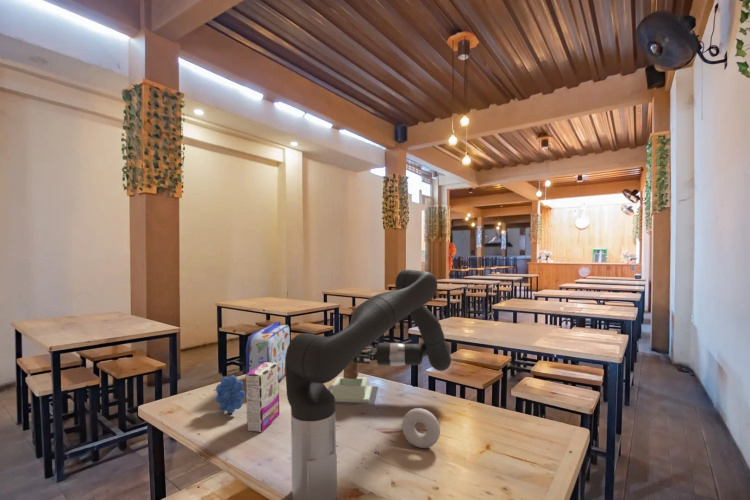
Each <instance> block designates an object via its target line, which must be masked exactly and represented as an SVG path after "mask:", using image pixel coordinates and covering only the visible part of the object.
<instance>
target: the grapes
mask: <svg viewBox="0 0 750 500" xmlns="http://www.w3.org/2000/svg"><path fill="white" fill-rule="evenodd" d="M243 386H244V383H243V381H242V380H238V378H237V376H236V375H231V376H229V377H228V376H223V377H222V378H221V380H220V383H218V384H217V386H216V387H215V391H216V393H217V395H216V396H215V402H216V403H217V404H219V410H220V411H221V412H224V411H226V412H227V413H228V414H233V413H235V411H236V410H239V409H240V408H242V405H243V400H244V398H245V397H246V391H244V390H242V389H243V388H244V387H243Z"/></svg>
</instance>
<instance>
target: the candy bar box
mask: <svg viewBox="0 0 750 500" xmlns="http://www.w3.org/2000/svg"><path fill="white" fill-rule="evenodd" d="M245 378H246V383H245V397H246V427H247V428H246V429H247V430H246V431H247V432H251V433H253V432H255V433H263V432H264V431H265V430H267V428H268V427H269V426H271V424H272V423H273V422H274V421H275V420H276V419H277V418H278V417H279V416H280V415H281V413H280V387H279V385H280V381H279V378H278V363H273V362H264V363H263V364H261V365H260V366H258V367H257V368H255V369H253V370H252V371H250V372H249V373H247V374H246V373H245Z"/></svg>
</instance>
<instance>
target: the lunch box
mask: <svg viewBox="0 0 750 500" xmlns="http://www.w3.org/2000/svg"><path fill="white" fill-rule="evenodd" d="M290 331H291V330H290V326H289V325H288V324H281V321H275V322H273V323H271V324H268V325H267V326H265V327H262V328H261V329H259V330H257V331H255V332H253V333H251V334H250V336H249V337H248V339H247V342H246V345H245V346H246V348H245V356H246V357H245V358H246V359H245V362H246V363H245V364H246V365H245V366H246V367H245V368H246V369H245V375H246V374H247V373H249V372H250V371H252V370H253V369H255V368H257V367H258V366H260V365H261V364H263V363H264V362H273V363H278V378H279V382H281V381H282V380H283V378H284V377H286V373H285V358H286V352H287V348H288V346H289V344H290V342H291V332H290ZM244 379H245V381H244V382H245V384H246V377H245V378H244Z"/></svg>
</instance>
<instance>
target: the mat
mask: <svg viewBox="0 0 750 500" xmlns="http://www.w3.org/2000/svg"><path fill="white" fill-rule="evenodd" d="M332 386H333V384H332V385H331V384H329V386H328V388H327V389H328V390H329V391H330V392H331V390H332ZM371 386H372V391H371V395H370V399H369V403H365V402H335V405H338V406H339V405H341V406H342V405H343V406H372V407H373V406H375V403H376V400H377V399H376V398H377V395H378V394H377V393H378V388H379V387H378V386H375V385H374V386H373V385H371Z"/></svg>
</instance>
